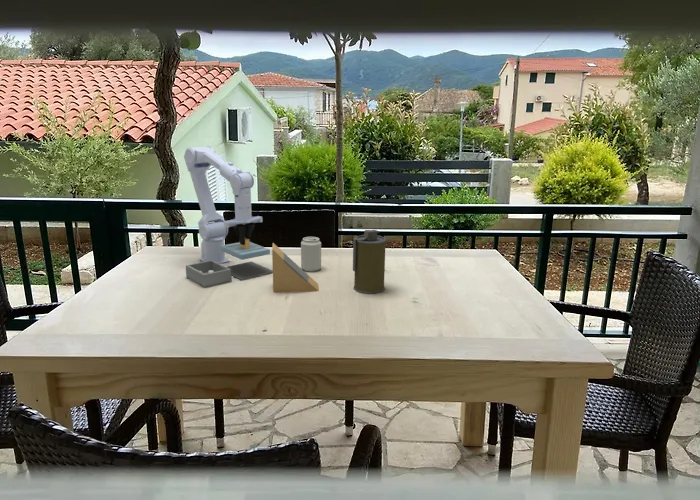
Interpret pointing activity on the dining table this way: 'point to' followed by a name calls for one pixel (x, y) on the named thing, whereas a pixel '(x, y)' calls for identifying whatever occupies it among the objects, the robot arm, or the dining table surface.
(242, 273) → the mat
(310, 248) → the can
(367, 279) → the canister
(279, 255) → the sandwich container
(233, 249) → the lid
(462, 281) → the dining table surface
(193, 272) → the parts tub
